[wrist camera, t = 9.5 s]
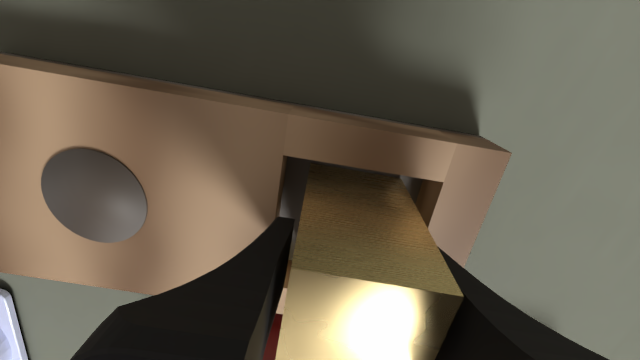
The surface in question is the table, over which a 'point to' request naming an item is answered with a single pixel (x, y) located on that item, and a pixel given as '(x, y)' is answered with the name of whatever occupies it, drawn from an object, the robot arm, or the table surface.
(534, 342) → the robot arm
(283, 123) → the bore block
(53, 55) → the table surface
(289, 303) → the brass peg
